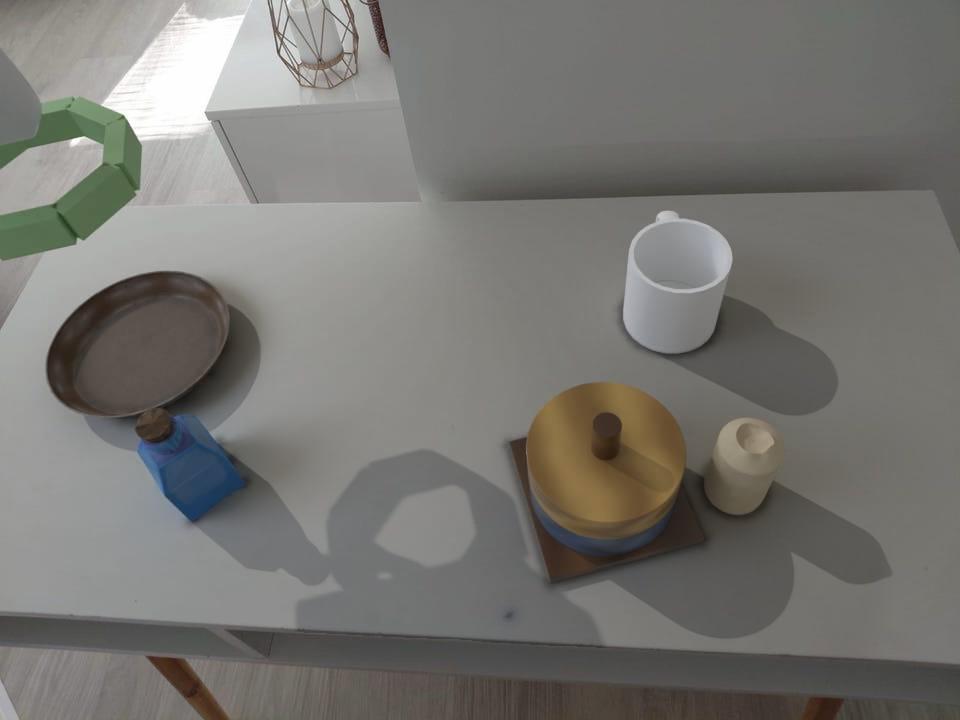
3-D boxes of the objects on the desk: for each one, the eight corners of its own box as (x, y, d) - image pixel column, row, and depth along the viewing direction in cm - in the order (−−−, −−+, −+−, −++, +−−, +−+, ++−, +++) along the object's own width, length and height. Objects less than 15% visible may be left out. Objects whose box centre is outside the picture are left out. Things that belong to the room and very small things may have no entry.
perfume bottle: (192, 522, 75) (135, 467, 65) (165, 480, 78) (107, 421, 68) (246, 484, 76) (199, 425, 67) (217, 444, 80) (168, 382, 70)
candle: (772, 477, 72) (798, 424, 63) (752, 526, 69) (777, 477, 61) (715, 453, 74) (734, 399, 65) (694, 499, 71) (711, 449, 63)
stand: (550, 583, 68) (547, 527, 57) (509, 447, 76) (500, 375, 65) (702, 542, 69) (727, 479, 58) (646, 411, 77) (658, 335, 66)
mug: (724, 351, 80) (743, 288, 72) (629, 359, 81) (636, 297, 72) (701, 263, 87) (715, 196, 79) (613, 270, 88) (618, 205, 80)
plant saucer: (129, 271, 95) (117, 253, 93) (270, 306, 90) (261, 288, 87) (23, 405, 85) (5, 389, 82) (175, 454, 79) (161, 439, 77)
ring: (-61, 275, 60) (-87, 249, 57) (-29, 149, 69) (-51, 122, 66) (138, 231, 61) (120, 203, 58) (144, 112, 70) (128, 84, 67)
